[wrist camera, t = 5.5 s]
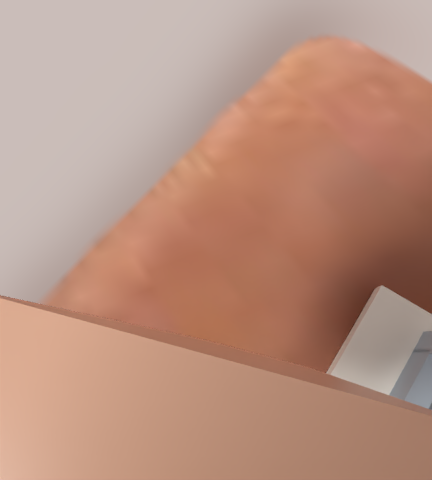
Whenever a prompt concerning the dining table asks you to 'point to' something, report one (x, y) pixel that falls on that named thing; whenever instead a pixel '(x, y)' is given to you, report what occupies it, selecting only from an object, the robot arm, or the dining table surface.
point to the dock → (389, 349)
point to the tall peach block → (185, 409)
